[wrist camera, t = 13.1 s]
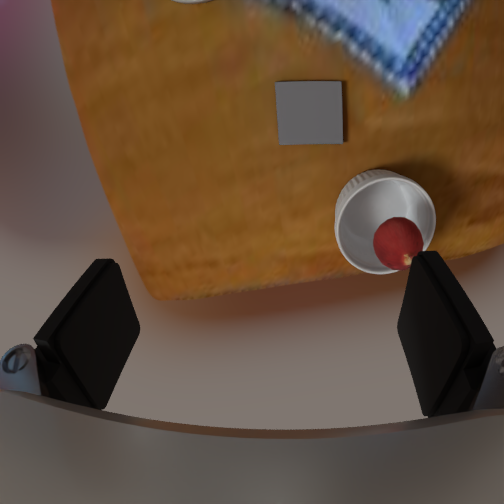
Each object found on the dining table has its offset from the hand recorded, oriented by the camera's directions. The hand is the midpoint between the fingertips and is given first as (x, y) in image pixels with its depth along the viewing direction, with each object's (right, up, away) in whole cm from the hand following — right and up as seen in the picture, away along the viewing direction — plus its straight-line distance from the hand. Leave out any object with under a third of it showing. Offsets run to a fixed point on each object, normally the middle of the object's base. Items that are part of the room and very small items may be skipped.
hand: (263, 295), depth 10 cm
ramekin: (+17, +8, +33) cm, 38 cm away
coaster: (+7, +19, +27) cm, 34 cm away
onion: (+16, +4, +27) cm, 32 cm away
